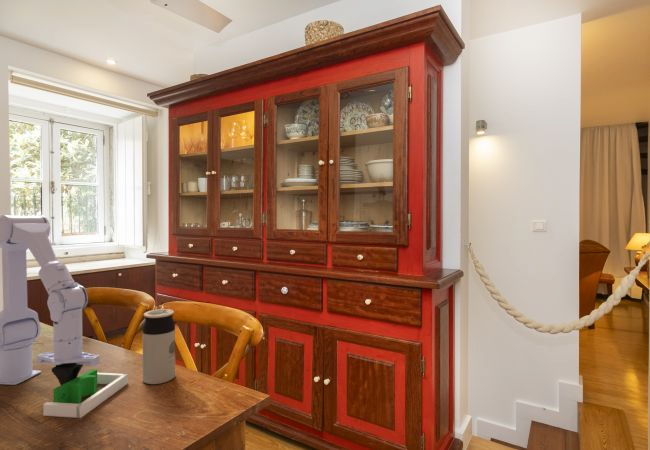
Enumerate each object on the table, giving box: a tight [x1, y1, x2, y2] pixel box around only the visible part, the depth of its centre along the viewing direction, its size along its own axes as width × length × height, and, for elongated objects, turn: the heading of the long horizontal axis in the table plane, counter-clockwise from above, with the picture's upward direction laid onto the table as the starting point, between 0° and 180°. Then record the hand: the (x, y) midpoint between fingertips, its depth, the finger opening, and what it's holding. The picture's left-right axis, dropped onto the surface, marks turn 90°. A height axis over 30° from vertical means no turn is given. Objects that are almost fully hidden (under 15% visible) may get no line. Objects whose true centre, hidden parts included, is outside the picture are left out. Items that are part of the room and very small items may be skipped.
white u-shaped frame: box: [42, 372, 129, 419], centre depth 89 cm, size 9×17×2 cm, turn 175°
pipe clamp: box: [53, 368, 98, 404], centre depth 89 cm, size 11×4×5 cm, turn 168°
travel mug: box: [142, 308, 176, 385], centre depth 100 cm, size 8×8×18 cm
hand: (68, 393), depth 90 cm, fingers closed
